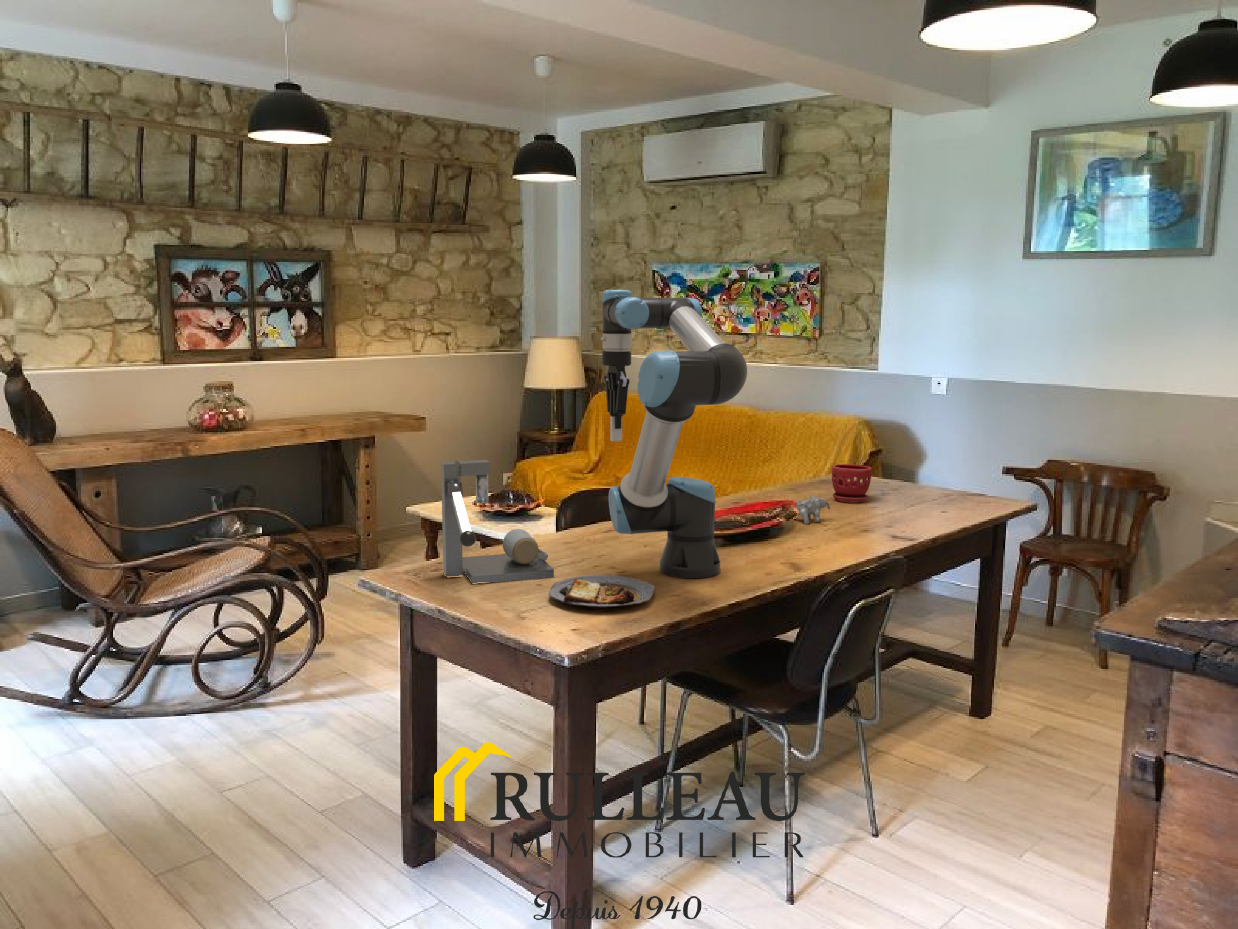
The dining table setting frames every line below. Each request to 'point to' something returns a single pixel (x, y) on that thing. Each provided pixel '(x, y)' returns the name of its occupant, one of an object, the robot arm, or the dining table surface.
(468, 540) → the lever
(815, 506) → the elephant statuette
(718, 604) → the dining table surface
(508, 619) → the dining table surface
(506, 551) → the ceramic mug
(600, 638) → the dining table surface
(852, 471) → the plant pot
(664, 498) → the robot arm
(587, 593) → the food plate
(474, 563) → the press
